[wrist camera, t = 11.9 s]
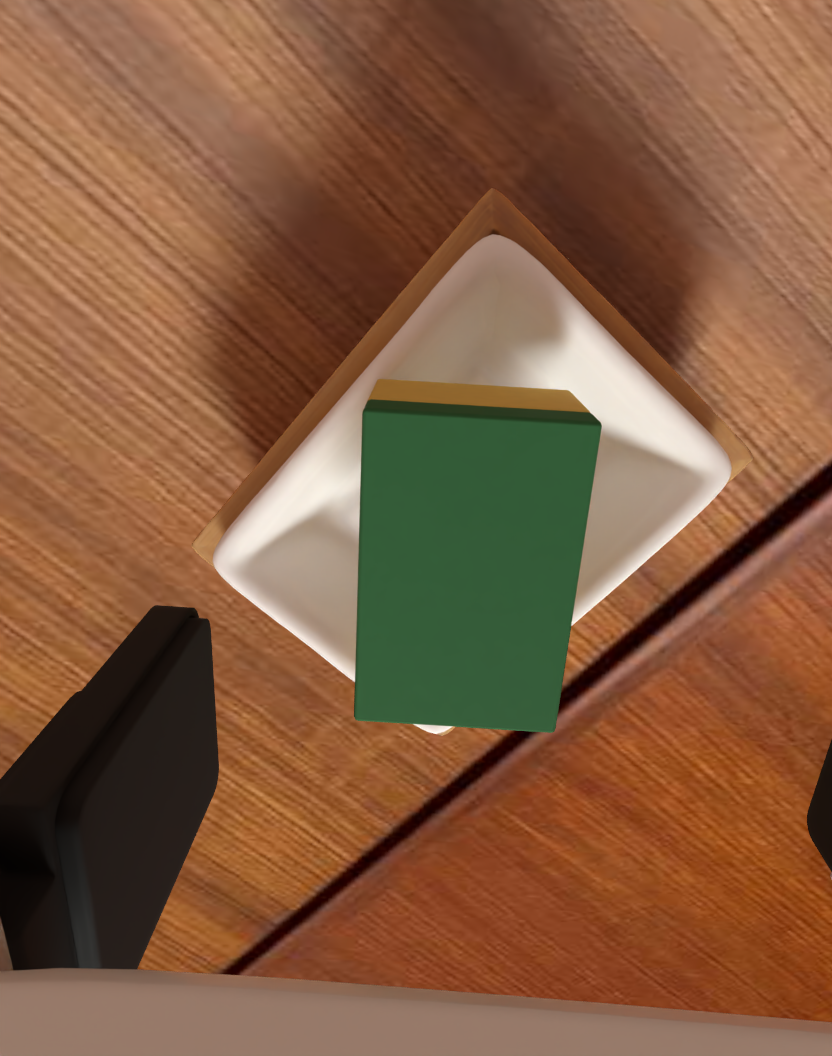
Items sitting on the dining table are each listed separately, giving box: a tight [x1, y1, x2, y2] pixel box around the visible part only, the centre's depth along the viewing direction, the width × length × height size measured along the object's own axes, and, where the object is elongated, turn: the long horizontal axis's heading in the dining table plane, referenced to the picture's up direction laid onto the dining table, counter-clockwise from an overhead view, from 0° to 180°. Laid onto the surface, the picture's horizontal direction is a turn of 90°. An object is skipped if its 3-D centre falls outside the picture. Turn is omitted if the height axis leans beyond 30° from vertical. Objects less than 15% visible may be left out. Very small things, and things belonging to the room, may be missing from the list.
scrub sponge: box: [354, 379, 602, 733], centre depth 16 cm, size 7×5×4 cm, turn 177°
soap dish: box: [192, 188, 754, 736], centre depth 20 cm, size 12×10×5 cm
